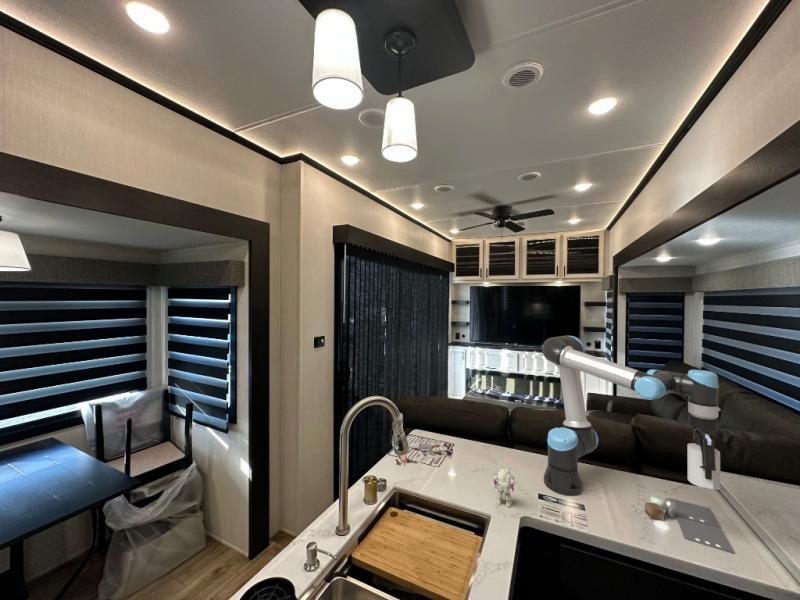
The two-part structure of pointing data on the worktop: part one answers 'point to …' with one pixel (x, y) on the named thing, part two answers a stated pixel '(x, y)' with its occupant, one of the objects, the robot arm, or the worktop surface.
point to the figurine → (503, 485)
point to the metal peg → (669, 508)
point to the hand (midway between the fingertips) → (703, 481)
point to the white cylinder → (696, 461)
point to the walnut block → (654, 511)
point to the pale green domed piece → (657, 501)
